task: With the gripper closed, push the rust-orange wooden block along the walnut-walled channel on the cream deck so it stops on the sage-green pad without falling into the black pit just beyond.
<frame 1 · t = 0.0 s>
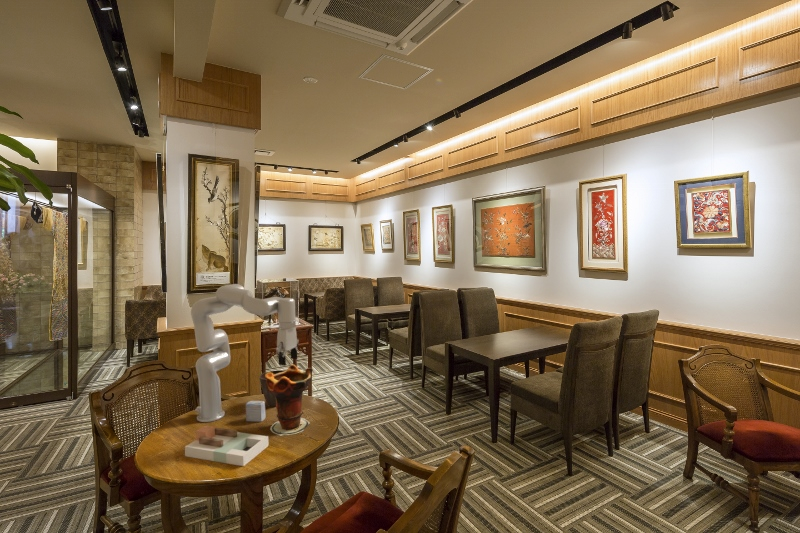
hand: (288, 361, 181), 31 cm above the table, tool pointing down, fingers open, 9 cm apart
deck: (227, 450, 163), on the table
block: (205, 438, 166), point 4 cm above the table, touching deck
plant pot: (275, 404, 210), on the table
decorative vase: (289, 426, 184), on the table
medicine box: (256, 420, 192), on the table
channel walls: (218, 437, 164), on the deck, point 5 cm above the table
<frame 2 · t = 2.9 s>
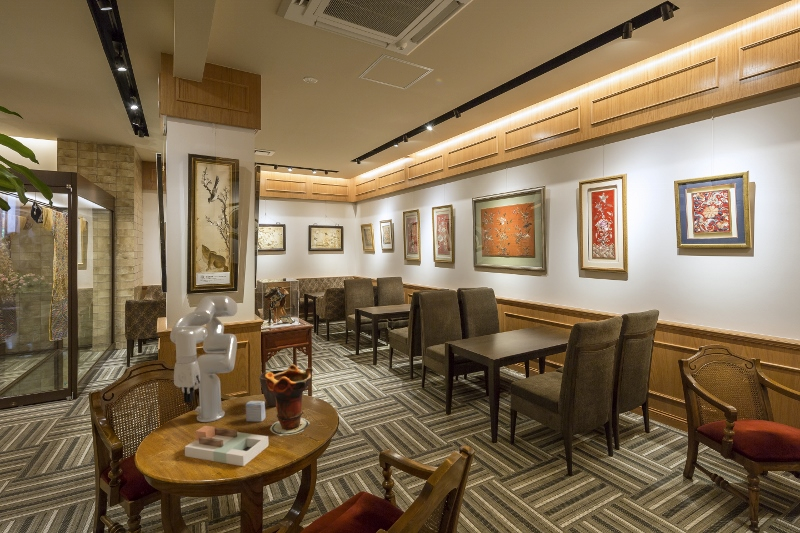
hand: (188, 401, 167), 19 cm above the table, tool pointing down, fingers closed
nothing on the table moved.
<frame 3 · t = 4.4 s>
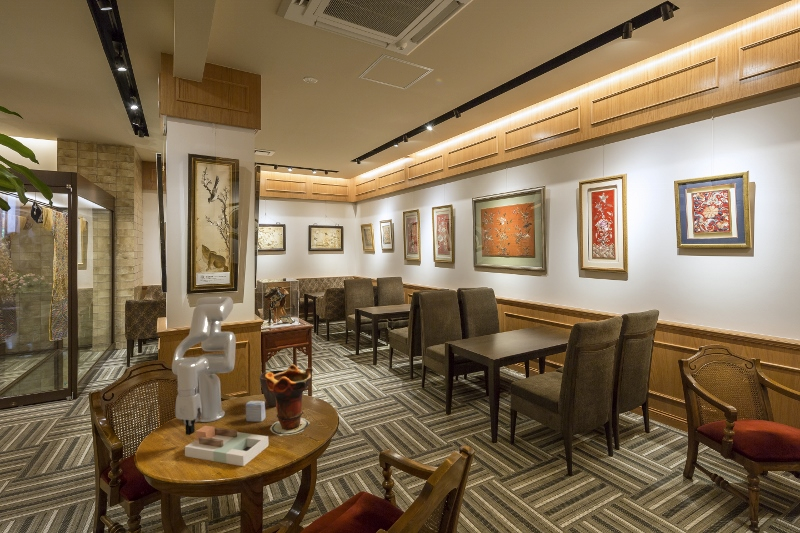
hand: (190, 433, 168), 5 cm above the table, tool pointing down, fingers closed
nothing on the table moved.
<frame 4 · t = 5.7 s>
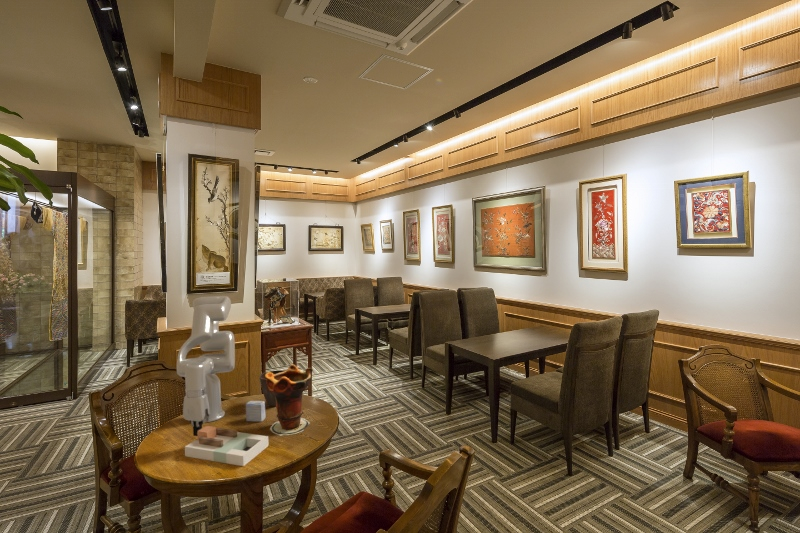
hand: (197, 434, 167), 5 cm above the table, tool pointing down, fingers closed
block: (207, 438, 166), point 4 cm above the table, touching deck, gripper
everything else where it was.
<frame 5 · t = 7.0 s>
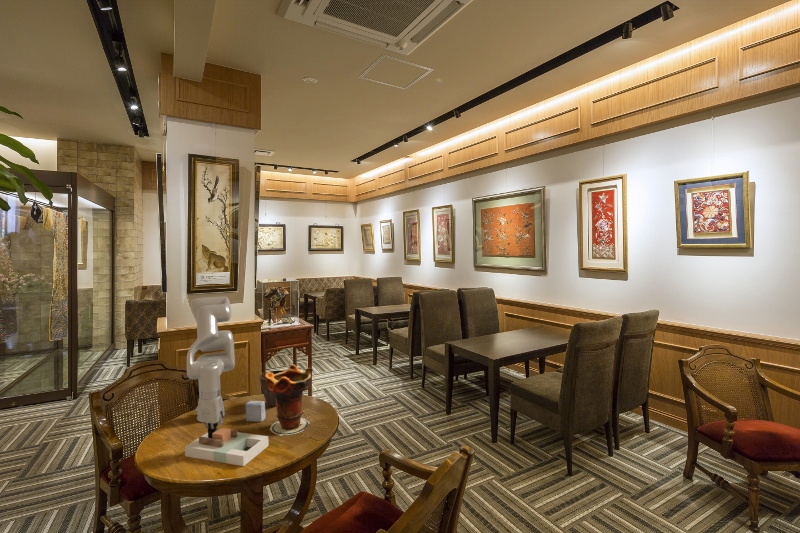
hand: (212, 436, 165), 5 cm above the table, tool pointing down, fingers closed
block: (221, 440, 163), point 4 cm above the table, touching deck, gripper
everything else where it was.
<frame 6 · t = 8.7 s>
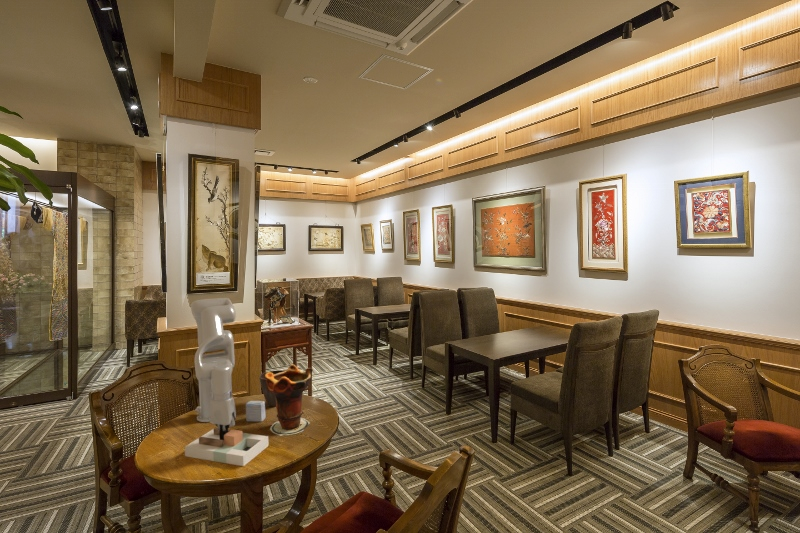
hand: (224, 438, 163), 5 cm above the table, tool pointing down, fingers closed
block: (233, 442, 162), point 4 cm above the table, touching deck, gripper
everything else where it was.
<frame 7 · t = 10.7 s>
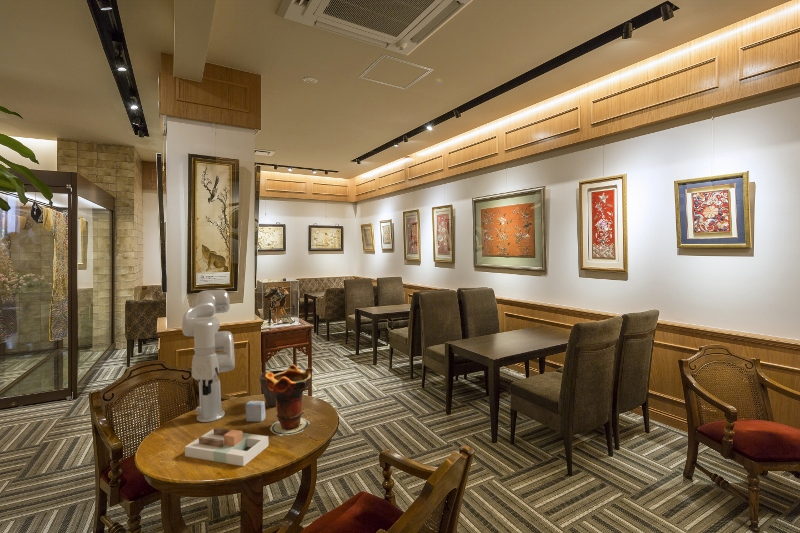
hand: (207, 394, 163), 24 cm above the table, tool pointing down, fingers closed
block: (233, 442, 162), point 4 cm above the table, touching deck
everything else where it was.
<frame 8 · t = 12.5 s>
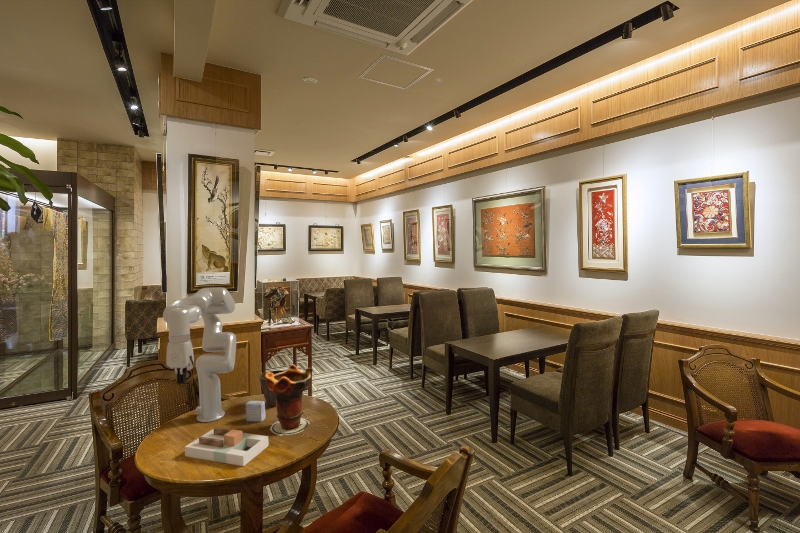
hand: (181, 382, 161), 29 cm above the table, tool pointing down, fingers closed
nothing on the table moved.
at the end: block 0.6 cm from the target spot on the deck, point 4.0 cm above the deck's base; block tilted 0°; block moved 14.1 cm from its start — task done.
